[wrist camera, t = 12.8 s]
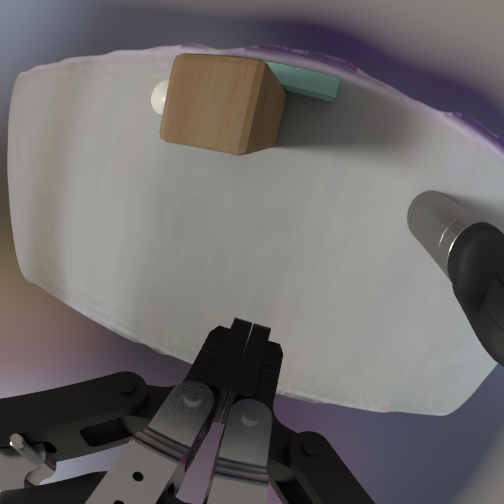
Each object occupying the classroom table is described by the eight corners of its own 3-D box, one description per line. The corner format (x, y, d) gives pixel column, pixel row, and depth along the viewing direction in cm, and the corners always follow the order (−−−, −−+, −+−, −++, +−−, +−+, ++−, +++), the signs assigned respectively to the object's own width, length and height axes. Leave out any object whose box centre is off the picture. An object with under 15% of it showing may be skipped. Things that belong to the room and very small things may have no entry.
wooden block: (288, 91, 38) (269, 58, 20) (275, 148, 43) (246, 158, 25) (228, 81, 39) (172, 51, 21) (217, 136, 44) (154, 141, 26)
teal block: (336, 86, 36) (340, 78, 31) (332, 102, 38) (335, 97, 32) (195, 61, 39) (180, 53, 33) (191, 76, 40) (176, 70, 35)
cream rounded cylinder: (205, 86, 40) (189, 79, 34) (199, 118, 43) (181, 117, 37) (175, 83, 41) (155, 78, 35) (169, 115, 44) (148, 114, 37)
